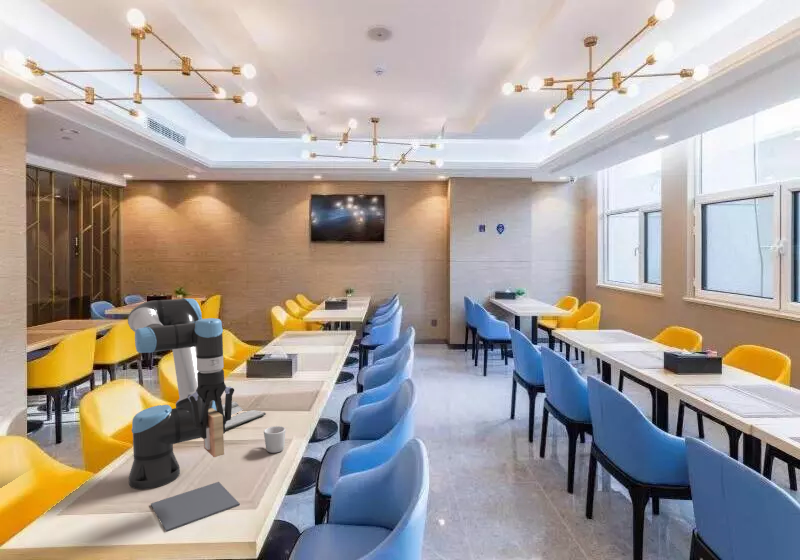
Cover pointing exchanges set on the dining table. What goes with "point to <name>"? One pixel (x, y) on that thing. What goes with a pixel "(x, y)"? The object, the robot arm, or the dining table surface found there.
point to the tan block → (215, 433)
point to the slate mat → (193, 505)
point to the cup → (274, 439)
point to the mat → (241, 415)
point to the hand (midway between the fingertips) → (213, 446)
